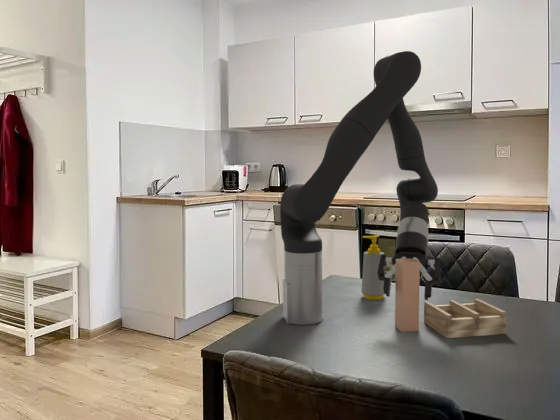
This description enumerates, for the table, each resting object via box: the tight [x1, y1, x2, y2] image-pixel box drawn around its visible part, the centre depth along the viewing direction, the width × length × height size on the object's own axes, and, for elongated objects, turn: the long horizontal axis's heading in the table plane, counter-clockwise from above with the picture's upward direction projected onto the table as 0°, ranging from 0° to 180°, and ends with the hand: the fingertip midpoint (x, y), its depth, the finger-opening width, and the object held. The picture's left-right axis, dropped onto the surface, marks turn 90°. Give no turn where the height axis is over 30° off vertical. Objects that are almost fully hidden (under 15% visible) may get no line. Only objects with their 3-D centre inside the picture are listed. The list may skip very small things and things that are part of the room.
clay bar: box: [394, 258, 421, 333], centre depth 109 cm, size 4×4×16 cm
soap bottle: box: [361, 234, 386, 301], centre depth 136 cm, size 7×7×18 cm
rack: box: [423, 298, 507, 339], centre depth 110 cm, size 14×11×5 cm
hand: (406, 296), depth 108 cm, fingers open, 8 cm apart
